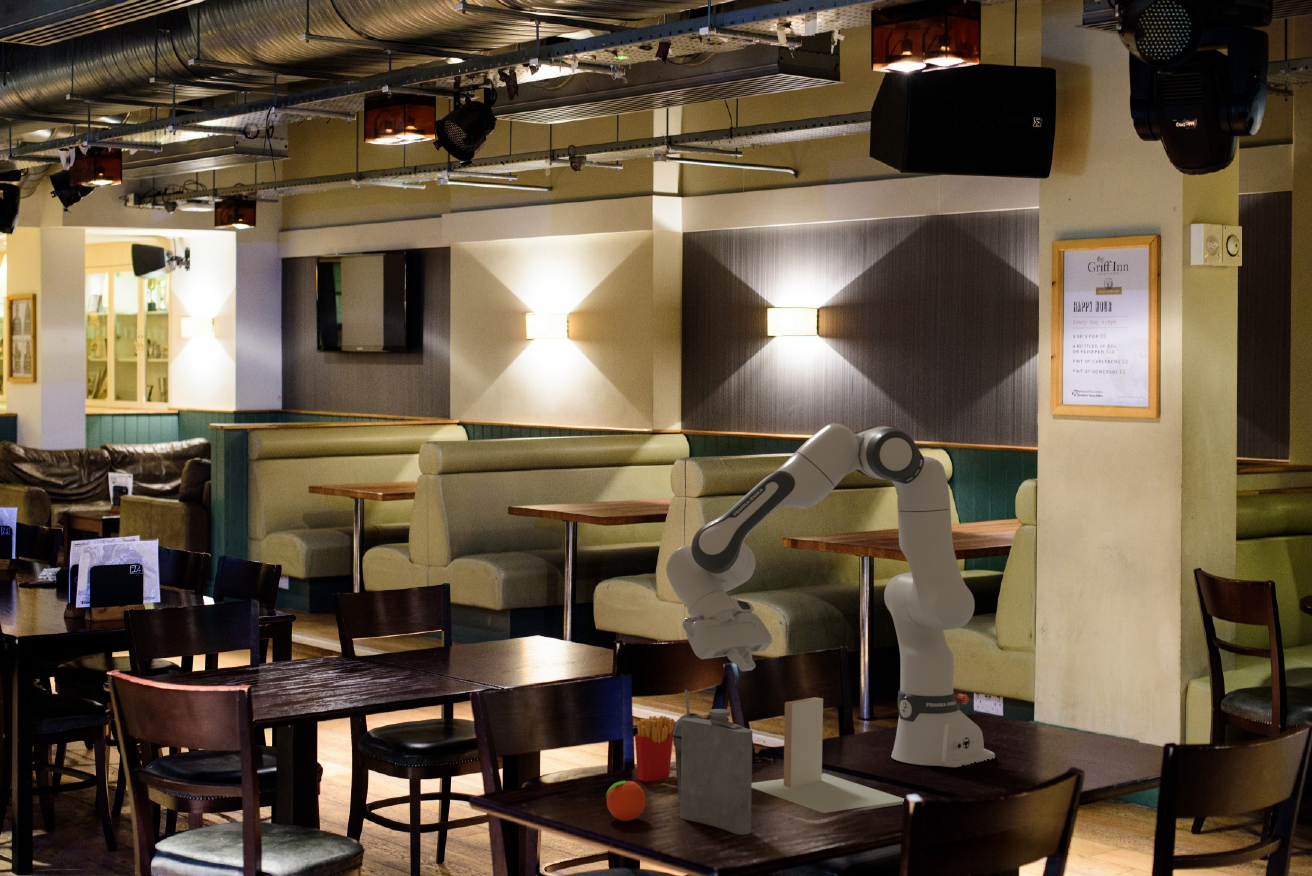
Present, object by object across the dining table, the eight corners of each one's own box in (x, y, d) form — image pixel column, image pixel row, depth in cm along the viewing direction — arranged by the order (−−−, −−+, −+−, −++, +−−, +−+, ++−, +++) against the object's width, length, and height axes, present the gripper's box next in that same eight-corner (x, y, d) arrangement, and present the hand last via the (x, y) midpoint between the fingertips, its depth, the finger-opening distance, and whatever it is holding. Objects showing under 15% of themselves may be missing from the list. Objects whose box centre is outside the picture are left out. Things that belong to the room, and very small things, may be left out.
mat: (824, 776, 307) (824, 773, 307) (908, 803, 285) (908, 799, 285) (742, 787, 296) (742, 784, 296) (823, 816, 275) (823, 812, 275)
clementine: (616, 828, 264) (616, 786, 264) (593, 819, 270) (594, 779, 270) (653, 821, 269) (654, 781, 269) (630, 813, 275) (631, 773, 275)
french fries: (642, 782, 298) (643, 721, 298) (631, 778, 302) (632, 717, 302) (677, 777, 303) (678, 716, 303) (665, 773, 307) (666, 713, 306)
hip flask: (676, 817, 272) (678, 704, 272) (693, 813, 275) (694, 702, 275) (741, 835, 261) (743, 718, 261) (758, 831, 264) (760, 715, 264)
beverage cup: (706, 802, 284) (708, 694, 283) (667, 799, 285) (669, 692, 285) (712, 793, 291) (714, 687, 291) (675, 790, 292) (676, 686, 292)
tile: (783, 785, 296) (784, 702, 295) (813, 778, 302) (815, 697, 302) (791, 787, 294) (792, 703, 294) (821, 780, 300) (823, 698, 300)
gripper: (687, 608, 306) (721, 663, 299) (756, 602, 321) (790, 654, 314) (671, 628, 310) (704, 683, 303) (740, 621, 324) (773, 673, 317)
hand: (749, 668), depth 308 cm, fingers closed
